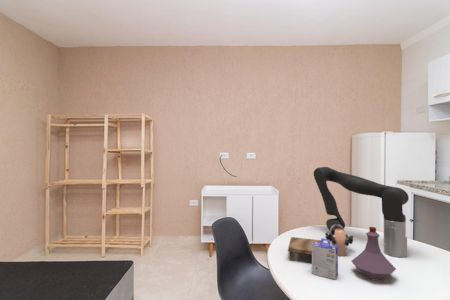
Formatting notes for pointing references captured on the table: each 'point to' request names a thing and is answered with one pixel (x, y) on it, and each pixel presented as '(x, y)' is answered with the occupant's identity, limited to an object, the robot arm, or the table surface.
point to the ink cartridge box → (325, 259)
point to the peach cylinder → (340, 241)
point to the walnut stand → (300, 246)
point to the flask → (373, 259)
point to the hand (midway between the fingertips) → (340, 243)
